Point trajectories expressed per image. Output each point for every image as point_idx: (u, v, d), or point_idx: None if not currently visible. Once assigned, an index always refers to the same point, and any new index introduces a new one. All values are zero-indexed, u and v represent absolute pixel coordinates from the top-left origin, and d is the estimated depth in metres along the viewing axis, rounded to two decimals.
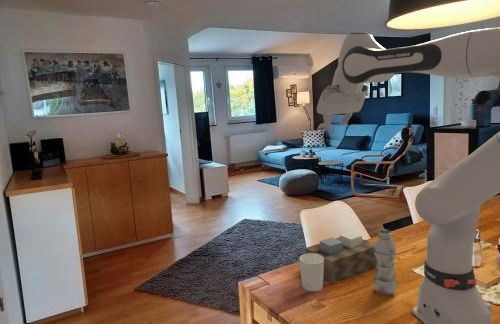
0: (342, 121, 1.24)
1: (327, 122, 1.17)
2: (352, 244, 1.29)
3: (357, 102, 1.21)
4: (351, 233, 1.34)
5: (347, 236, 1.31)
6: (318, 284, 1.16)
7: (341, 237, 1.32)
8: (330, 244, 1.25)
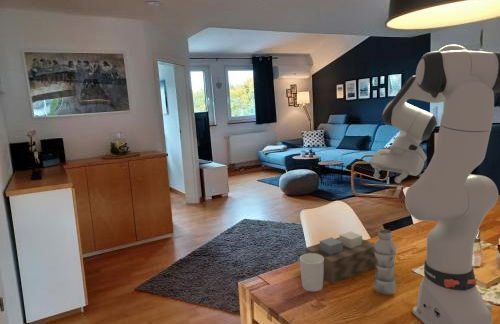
0: None
1: None
2: (352, 244, 1.29)
3: (409, 161, 1.30)
4: (351, 233, 1.34)
5: (347, 236, 1.31)
6: (318, 284, 1.16)
7: (341, 237, 1.32)
8: (330, 244, 1.25)
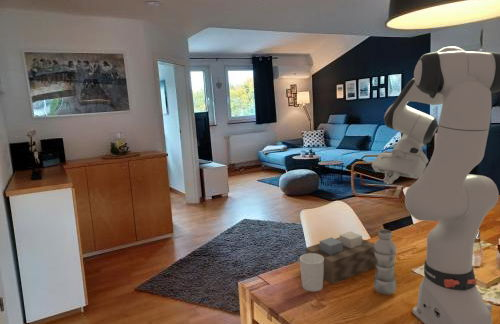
0: None
1: None
2: (352, 244, 1.29)
3: (410, 164, 1.30)
4: (351, 233, 1.34)
5: (347, 236, 1.31)
6: (318, 284, 1.16)
7: (341, 237, 1.32)
8: (330, 244, 1.25)
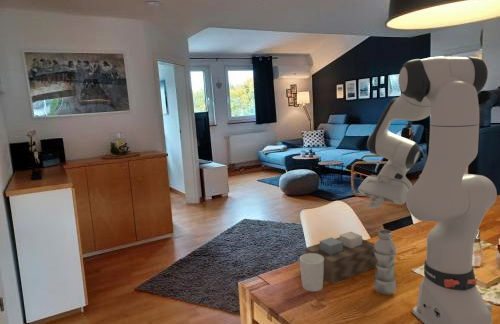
0: None
1: None
2: (352, 244, 1.29)
3: (394, 190, 1.31)
4: (351, 233, 1.34)
5: (347, 236, 1.31)
6: (318, 284, 1.16)
7: (341, 237, 1.32)
8: (330, 244, 1.25)
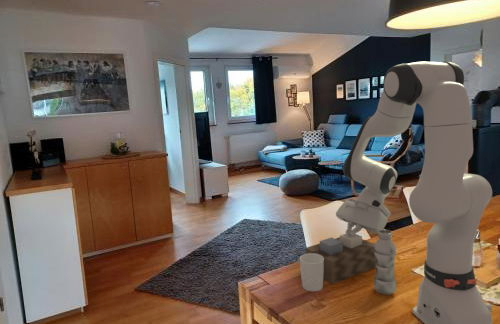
0: None
1: None
2: (352, 244, 1.29)
3: (371, 218, 1.27)
4: None
5: (347, 237, 1.31)
6: (318, 284, 1.16)
7: (341, 238, 1.32)
8: (330, 244, 1.25)
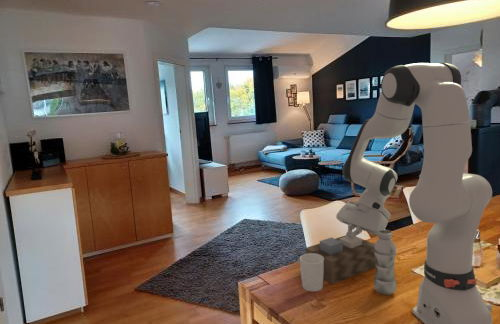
0: None
1: None
2: (352, 247, 1.29)
3: (372, 220, 1.27)
4: None
5: (347, 240, 1.31)
6: (318, 284, 1.16)
7: (341, 241, 1.32)
8: (330, 244, 1.25)
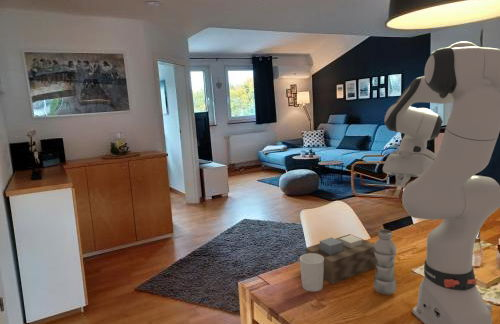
0: None
1: None
2: (352, 247, 1.29)
3: (416, 164, 1.26)
4: (351, 237, 1.34)
5: (347, 240, 1.31)
6: (318, 284, 1.16)
7: (341, 241, 1.32)
8: (330, 244, 1.25)
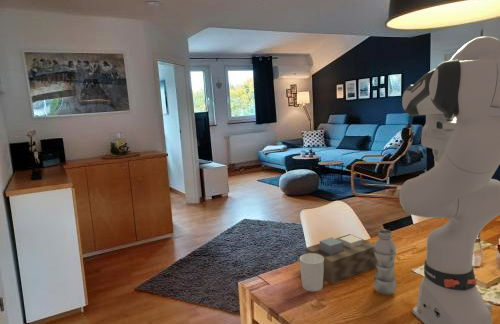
0: None
1: None
2: (352, 247, 1.29)
3: (444, 141, 1.17)
4: (351, 237, 1.34)
5: (347, 240, 1.31)
6: (318, 284, 1.16)
7: (341, 241, 1.32)
8: (330, 244, 1.25)
